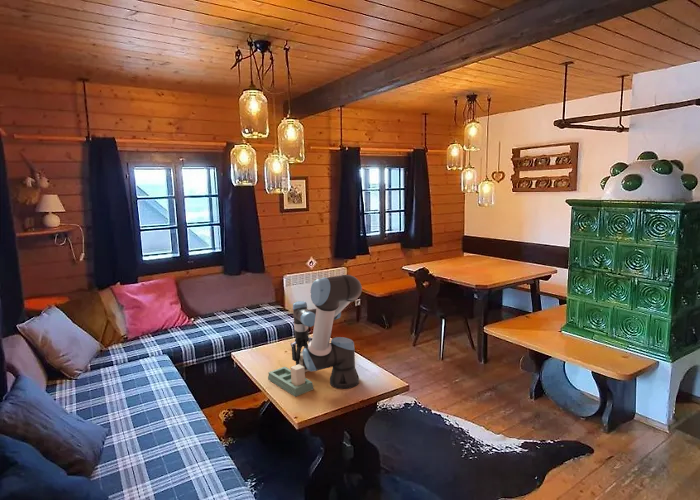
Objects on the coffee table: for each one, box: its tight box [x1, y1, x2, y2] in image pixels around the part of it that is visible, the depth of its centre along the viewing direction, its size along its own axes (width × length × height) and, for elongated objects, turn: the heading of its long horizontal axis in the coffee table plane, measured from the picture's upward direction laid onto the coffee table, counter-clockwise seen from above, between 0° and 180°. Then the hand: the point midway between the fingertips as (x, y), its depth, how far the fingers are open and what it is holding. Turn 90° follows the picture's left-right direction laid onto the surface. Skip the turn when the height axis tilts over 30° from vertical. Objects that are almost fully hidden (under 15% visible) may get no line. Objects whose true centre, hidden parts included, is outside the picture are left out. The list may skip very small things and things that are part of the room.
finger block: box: [300, 350, 310, 373], centre depth 240 cm, size 6×5×10 cm
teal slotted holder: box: [267, 364, 315, 398], centre depth 224 cm, size 26×11×12 cm, turn 40°
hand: (303, 369), depth 241 cm, fingers closed on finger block, 5 cm apart
